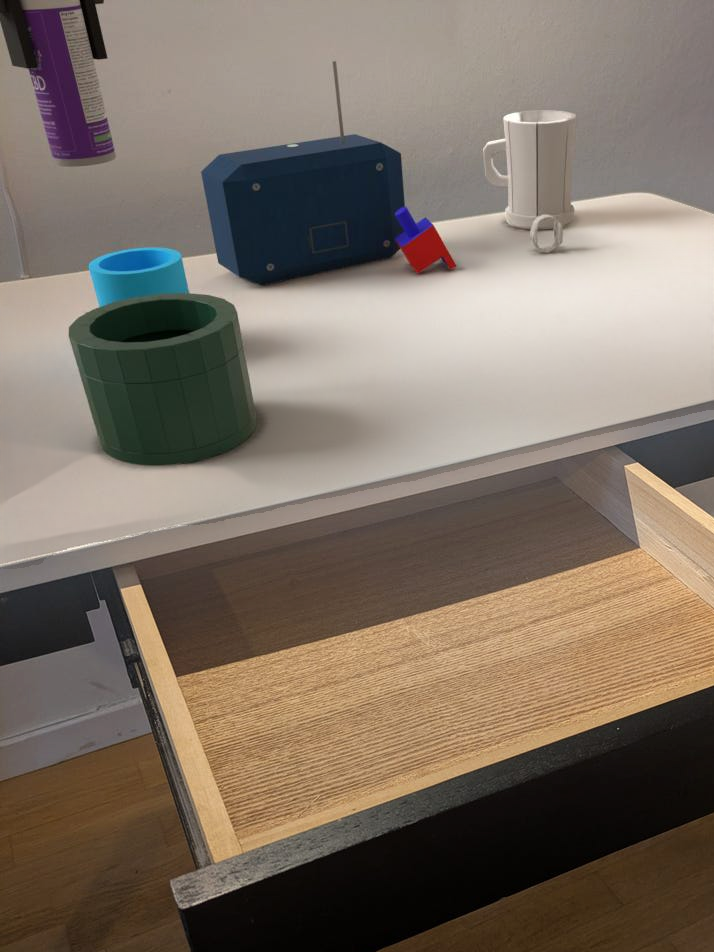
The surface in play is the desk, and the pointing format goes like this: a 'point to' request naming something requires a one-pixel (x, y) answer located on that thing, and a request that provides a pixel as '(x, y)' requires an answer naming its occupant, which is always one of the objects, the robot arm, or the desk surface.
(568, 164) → the cup
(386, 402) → the desk surface
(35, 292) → the desk surface
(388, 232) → the radio
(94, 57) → the robot arm
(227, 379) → the jar
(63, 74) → the container
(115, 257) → the mug
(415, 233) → the toy building block
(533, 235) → the grey ring
